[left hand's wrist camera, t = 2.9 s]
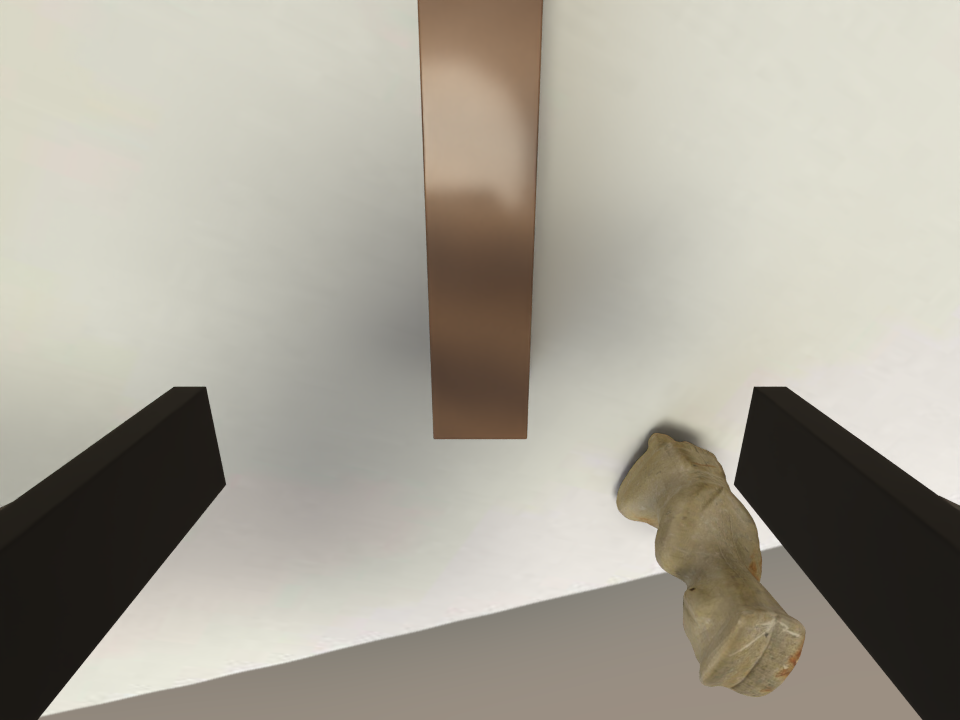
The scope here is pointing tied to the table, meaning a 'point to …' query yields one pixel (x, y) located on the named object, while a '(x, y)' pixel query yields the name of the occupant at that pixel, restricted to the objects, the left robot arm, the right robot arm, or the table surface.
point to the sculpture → (712, 566)
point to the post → (480, 208)
